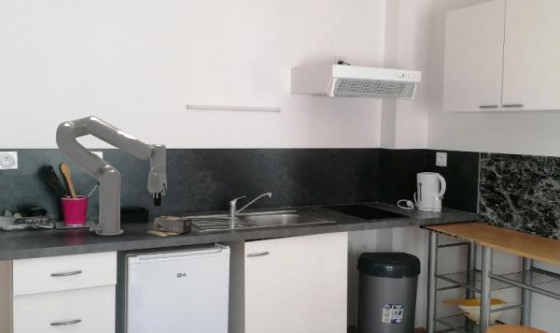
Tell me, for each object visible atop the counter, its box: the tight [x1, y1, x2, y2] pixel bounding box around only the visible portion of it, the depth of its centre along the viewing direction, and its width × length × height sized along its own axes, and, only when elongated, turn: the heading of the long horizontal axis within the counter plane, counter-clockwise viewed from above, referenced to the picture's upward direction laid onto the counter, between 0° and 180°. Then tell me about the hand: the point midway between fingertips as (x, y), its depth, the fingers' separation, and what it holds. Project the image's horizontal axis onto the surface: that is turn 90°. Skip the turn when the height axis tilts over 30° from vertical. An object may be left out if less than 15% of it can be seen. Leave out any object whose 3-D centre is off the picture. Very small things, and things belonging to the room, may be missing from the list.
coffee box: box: [153, 215, 193, 234], centre depth 263 cm, size 9×6×16 cm
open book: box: [146, 229, 182, 238], centre depth 259 cm, size 11×13×1 cm
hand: (157, 205), depth 262 cm, fingers closed
